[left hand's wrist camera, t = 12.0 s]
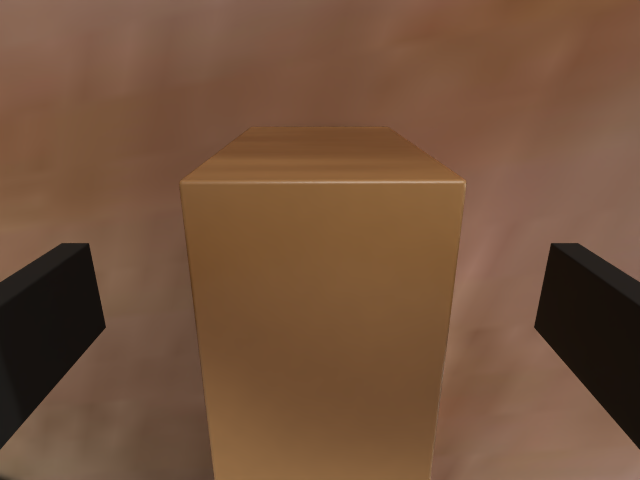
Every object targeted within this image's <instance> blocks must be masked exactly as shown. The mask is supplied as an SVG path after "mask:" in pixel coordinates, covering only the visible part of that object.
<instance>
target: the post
mask: <svg viewBox="0 0 640 480" xmlns="http://www.w3.org/2000/svg"><path fill="white" fill-rule="evenodd" d="M466 184H467V183H466V180H465V179H463V178H462V177H460V176H459V175H457V174H456V173H454V172H453V171H452V170H450V169H449V168H447V167H446V166H444V165H443V164H441V163H440V162H438V161H437V160H436V159H434V158H433V157H431V156H430V155H428V154H427V153H425V152H424V151H422V150H421V149H420V148H418V147H417V146H415V145H414V144H412V143H411V142H409V141H408V140H406V139H405V138H404V137H402V136H401V135H399V134H398V133H396V132H395V131H393V130H392V129H390V128H389V127H251V128H249V129H248V130H247V131H245V132H244V133H243V134H241V135H240V136H239V137H237V138H236V139H235V140H233V141H232V142H231V143H229V144H228V145H227V146H225V147H224V148H223V149H222V150H220V151H219V152H218V153H216V154H215V155H214V156H212V157H211V158H210V159H208V160H207V161H206V162H204V163H203V164H202V165H200V166H199V167H198V168H196V169H195V170H194V171H192V172H191V173H190V174H188V175H187V176H186V177H184V178H183V179H182V180H181V181H180V183H179V188H180V196H181V204H182V213H183V221H184V230H185V238H186V246H187V255H188V263H189V272H190V280H191V288H192V297H193V305H194V313H195V322H196V330H197V339H198V347H199V355H200V364H201V372H202V381H203V389H204V397H205V406H206V414H207V423H208V431H209V439H210V448H211V456H212V465H213V473H214V480H430V478H431V469H432V461H433V453H434V445H435V437H436V429H437V421H438V412H439V404H440V396H441V388H442V380H443V372H444V364H445V355H446V347H447V339H448V331H449V323H450V315H451V306H452V298H453V290H454V282H455V274H456V266H457V258H458V249H459V241H460V233H461V225H462V217H463V209H464V201H465V192H466Z"/></svg>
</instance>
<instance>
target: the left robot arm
mask: <svg viewBox="0 0 640 480" xmlns="http://www.w3.org/2000/svg"><path fill="white" fill-rule="evenodd" d="M105 328H106V326H105V321H104V316H103V311H102V306H101V301H100V296H99V291H98V286H97V281H96V276H95V271H94V266H93V261H92V256H91V251H90V246H89V243H62V244H60V245H58V246H57V247H55V248H54V249H52V250H51V251H49V252H47V253H46V254H44V255H43V256H41V257H39V258H38V259H36V260H35V261H33V262H32V263H30V264H28V265H27V266H25V267H24V268H22V269H21V270H19V271H17V272H16V273H14V274H13V275H11V276H9V277H8V278H6V279H5V280H3V281H2V282H0V449H1V448H2V447H3V446H4V445H5V443H6V442H7V441H8V440H9V439H10V438H11V436H12V435H13V434H14V433H15V432H16V431H17V429H18V428H19V427H20V426H21V425H22V424H23V423H24V421H25V420H26V419H27V418H28V417H29V416H30V414H31V413H32V412H33V411H34V410H35V409H36V408H37V406H38V405H39V404H40V403H41V402H42V401H43V399H44V398H45V397H46V396H47V395H48V394H49V392H50V391H51V390H52V389H53V388H54V387H55V386H56V384H57V383H58V382H59V381H60V380H61V379H62V377H63V376H64V375H65V374H66V373H67V372H68V371H69V369H70V368H71V367H72V366H73V365H74V364H75V362H76V361H77V360H78V359H79V358H80V357H81V355H82V354H83V353H84V352H85V351H86V350H87V349H88V347H89V346H90V345H91V344H92V343H93V342H94V340H95V339H96V338H97V337H98V336H99V335H100V334H101V332H102V331H103V330H104V329H105ZM534 328H535V329H536V330H537V331H538V332H539V334H540V335H541V336H542V337H543V338H544V339H545V340H546V342H547V343H548V344H549V345H550V346H551V347H552V349H553V350H554V351H555V352H556V353H557V354H558V355H559V357H560V358H561V359H562V360H563V361H564V362H565V364H566V365H567V366H568V367H569V368H570V369H571V371H572V372H573V373H574V374H575V375H576V376H577V377H578V379H579V380H580V381H581V382H582V383H583V384H584V386H585V387H586V388H587V389H588V390H589V391H590V392H591V394H592V395H593V396H594V397H595V398H596V399H597V401H598V402H599V403H600V404H601V405H602V406H603V408H604V409H605V410H606V411H607V412H608V413H609V414H610V416H611V417H612V418H613V419H614V420H615V421H616V423H617V424H618V425H619V426H620V427H621V428H622V429H623V431H624V432H625V433H626V434H627V435H628V436H629V438H630V439H631V440H632V441H633V442H634V443H635V445H636V446H637V447H638V448H639V449H640V282H638V281H637V280H635V279H634V278H632V277H631V276H629V275H627V274H626V273H624V272H623V271H621V270H619V269H618V268H616V267H615V266H613V265H612V264H610V263H608V262H607V261H605V260H604V259H602V258H601V257H599V256H597V255H596V254H594V253H593V252H591V251H589V250H588V249H586V248H585V247H583V246H582V245H580V244H578V243H551V246H550V251H549V256H548V261H547V266H546V271H545V276H544V281H543V286H542V291H541V296H540V301H539V306H538V311H537V316H536V321H535V326H534Z"/></svg>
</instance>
